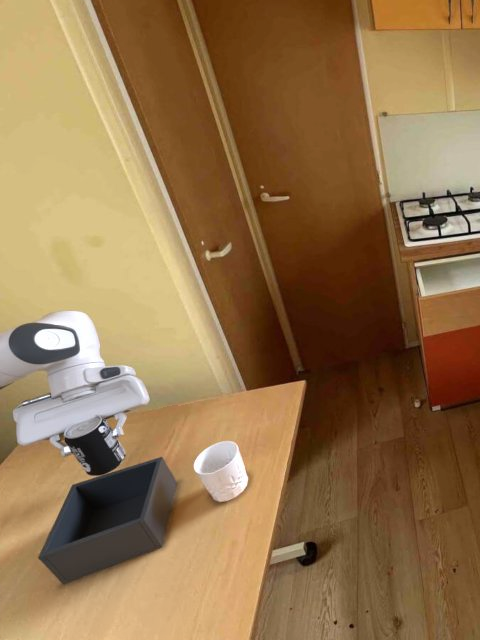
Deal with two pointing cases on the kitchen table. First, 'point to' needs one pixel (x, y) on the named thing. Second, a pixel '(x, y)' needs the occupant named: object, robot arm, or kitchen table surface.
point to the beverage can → (94, 446)
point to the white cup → (222, 470)
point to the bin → (110, 520)
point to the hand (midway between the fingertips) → (94, 445)
